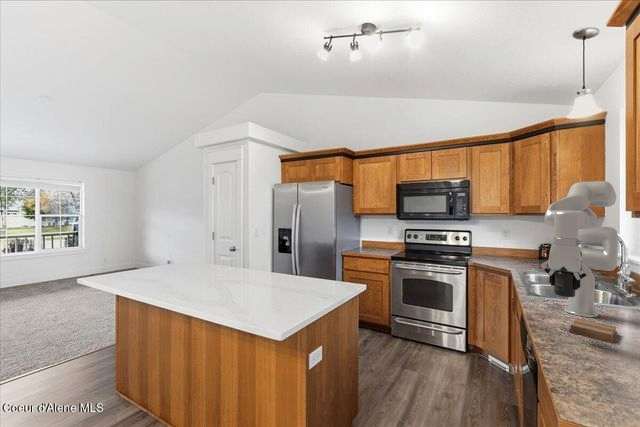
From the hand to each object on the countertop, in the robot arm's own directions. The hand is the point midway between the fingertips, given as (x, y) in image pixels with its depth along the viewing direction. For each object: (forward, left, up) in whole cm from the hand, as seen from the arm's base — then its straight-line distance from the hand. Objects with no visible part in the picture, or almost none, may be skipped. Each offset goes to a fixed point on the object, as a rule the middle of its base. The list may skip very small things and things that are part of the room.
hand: (564, 286), depth 119 cm
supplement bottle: (0, 0, -3) cm, 3 cm away
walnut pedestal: (-12, +7, -19) cm, 24 cm away
